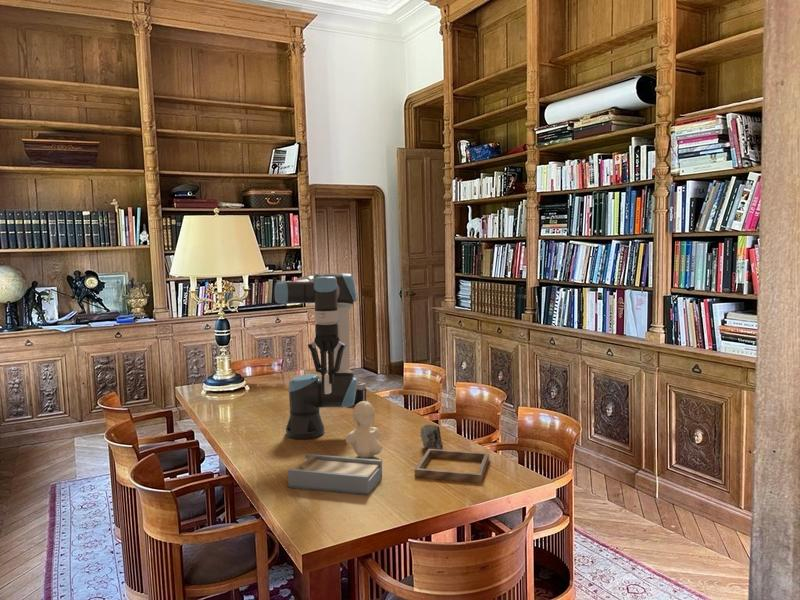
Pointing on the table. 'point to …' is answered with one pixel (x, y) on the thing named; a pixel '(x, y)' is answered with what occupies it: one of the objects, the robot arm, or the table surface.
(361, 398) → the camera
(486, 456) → the brown wooden frame
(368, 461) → the pencil box
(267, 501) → the table surface
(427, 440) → the stone
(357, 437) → the figurine
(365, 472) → the lid
